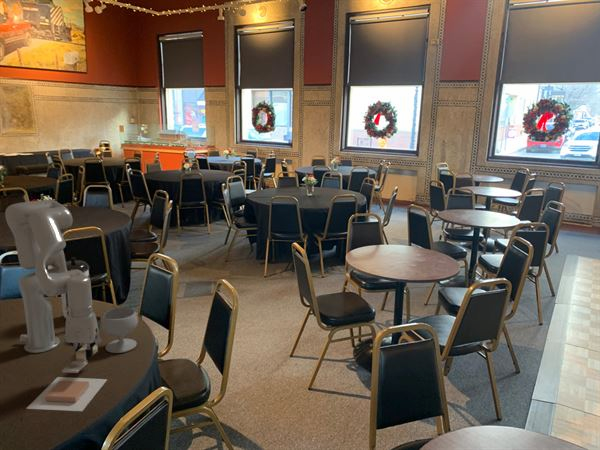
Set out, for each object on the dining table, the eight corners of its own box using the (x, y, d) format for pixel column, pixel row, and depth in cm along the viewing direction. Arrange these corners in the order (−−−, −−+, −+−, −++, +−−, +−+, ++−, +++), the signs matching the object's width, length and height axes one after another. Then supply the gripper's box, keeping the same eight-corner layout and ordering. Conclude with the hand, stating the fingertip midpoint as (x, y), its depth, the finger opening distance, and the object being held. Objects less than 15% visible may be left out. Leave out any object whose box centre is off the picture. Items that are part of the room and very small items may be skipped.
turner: (86, 350, 167) (86, 340, 166) (100, 351, 167) (100, 341, 166) (62, 372, 150) (61, 361, 149) (77, 372, 150) (76, 361, 149)
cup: (87, 332, 196) (85, 315, 194) (104, 331, 196) (103, 315, 195) (80, 340, 189) (78, 322, 187) (98, 340, 189) (97, 322, 187)
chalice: (135, 354, 179) (133, 319, 175) (99, 356, 177) (96, 321, 173) (141, 337, 192) (140, 305, 189) (107, 339, 190) (105, 306, 187)
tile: (60, 385, 154) (45, 401, 145) (60, 380, 153) (45, 395, 145) (89, 387, 154) (76, 403, 145) (89, 381, 153) (75, 397, 144)
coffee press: (50, 323, 202) (44, 260, 196) (75, 309, 218) (70, 251, 211) (83, 328, 199) (78, 264, 192) (106, 314, 214) (102, 254, 207)
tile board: (26, 412, 142) (26, 408, 141) (58, 380, 159) (57, 377, 159) (82, 415, 141) (82, 411, 141) (107, 383, 159) (107, 379, 159)
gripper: (51, 314, 152) (56, 362, 156) (98, 316, 152) (102, 364, 156) (63, 305, 160) (68, 351, 164) (108, 307, 159) (111, 353, 163)
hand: (84, 357), depth 160 cm, fingers closed on turner, 2 cm apart
